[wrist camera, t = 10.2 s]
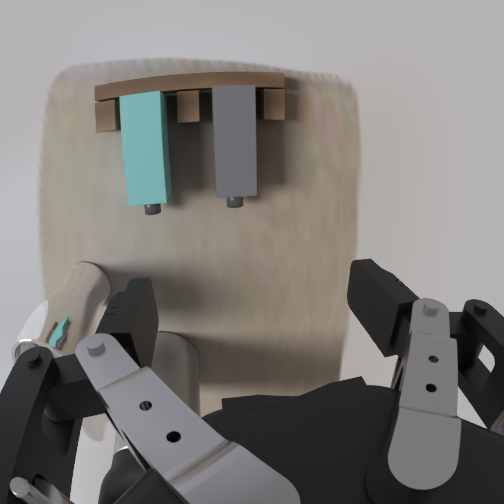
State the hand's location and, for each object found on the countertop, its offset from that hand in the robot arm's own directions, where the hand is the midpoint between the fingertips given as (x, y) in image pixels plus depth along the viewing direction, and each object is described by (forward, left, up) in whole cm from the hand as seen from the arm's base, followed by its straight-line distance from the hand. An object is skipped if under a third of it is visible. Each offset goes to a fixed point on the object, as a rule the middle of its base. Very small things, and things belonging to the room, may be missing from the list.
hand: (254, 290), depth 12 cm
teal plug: (+4, +7, -22) cm, 23 cm away
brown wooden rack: (+9, +3, -22) cm, 24 cm away
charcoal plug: (+5, -1, -22) cm, 22 cm away
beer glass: (-11, +17, -22) cm, 30 cm away
